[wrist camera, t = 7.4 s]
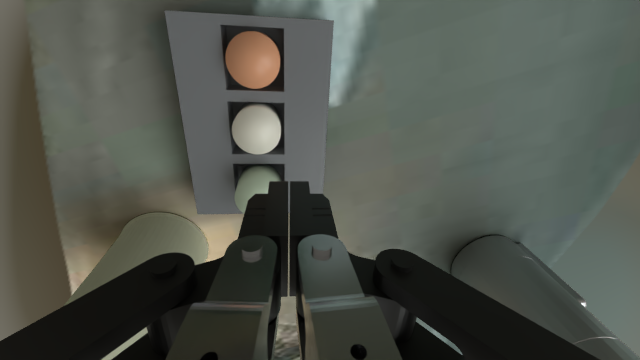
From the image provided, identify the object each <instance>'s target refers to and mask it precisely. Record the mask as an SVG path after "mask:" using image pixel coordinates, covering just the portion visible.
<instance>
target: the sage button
mask: <svg viewBox="0 0 640 360" xmlns="http://www.w3.org/2000/svg"><path fill="white" fill-rule="evenodd" d="M270 181H281V177H280V175H279V173H278V172H277V171H276V170H275V169H274V168H273V167H271V166H269V165H266V164H253V165H251V166H249V167H247V168H246V169H244V170H243V172H242V173H241V175H240V178H239V181H238V185H237V188H236V192H235V203H236V205H237V207H238V209H239V210H240V211H241V212H242V213H244V214H245V210H246V206H247V202H248V200H249V199H250V198H251V197H252V196H253V195H254V194H268V188H269V182H270Z"/></svg>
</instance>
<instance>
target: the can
mask: <svg viewBox="0 0 640 360" xmlns="http://www.w3.org/2000/svg"><path fill="white" fill-rule="evenodd" d="M173 252H178V253H184V254H187V255H189V256H190V257H191V258H192V259H193V260H194V263H195V265H197V264H201V263H205V261H206V259H207V256H208V243H207V240H206V237H205V235H204V234H203V232H202V231H201V230H200V229H199V228H198V227H197V226H196V225H195V224H194V223H192V222H191V221H189V220H187V219H185V218H183V217H181V216H178V215H175V214H171V213H164V212H153V213H147V214H143V215H140V216H138V217H136V218H134V219H132V220H131V221H130V222H128V223H127V224H126V226H125V227H124V228H123V230H122V232H121V234H120V236H119V237H118V238H117V240H116V241H115V242H114V244H113V245H112V246H111V247H110V249H109V250H108V251H107V253H106V254H105V255H104V257H103V258H102V259H101V260H100V262H99V263H98V264H97V265H96V267H95V268H94V269H93V270H92V272H91V273H90V274H89V275H88V277H87V278H86V279H85V280H84V281H83V283H82V284H81V285H80V286H79V288H78V289H77V290H76V291H75V293H74V294H73V295H72V296H71V297H70V299H69V300H68V301H67V302H66V303H65V305H67V304H69V303H71V302H72V301H74V300H76V299H78V298H80V297H81V296H83V295H85V294H87V293H89V292H91V291H92V290H94V289H96V288H98V287H100V286H101V285H103V284H105V283H107V282H109V281H111V280H112V279H114V278H116V277H118V276H120V275H121V274H123V273H125V272H127V271H129V270H131V269H132V268H134V267H136V266H138V265H140V264H141V263H143V262H145V261H147V260H149V259H151V258H153V257H155V256H158V255H161V254H165V253H173ZM65 305H64V306H65ZM146 333H148V331H147V328H144V329H143V330H141V331H140V332H139V333H137V334H136V335H135V336H133V337H132V338H130V339H129V340H128V341H126V342H125V343H123V344H122V345H121V346H119V347H118V348H117V349H115V350H114V351H112V352H111V353H110V354H108V355H107V356H106V357H104V358H103V359H101V360H111V359H113V358H114V357H115V356H117V355H118V354H119V353H121V352H122V351H123V350H125V349H126V348H128V347H129V346H130V345H132V344H133V343H134V342H136V341H137V340H138V339H140V338H141V337H142V336H144V335H145V334H146Z"/></svg>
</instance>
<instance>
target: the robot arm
mask: <svg viewBox="0 0 640 360" xmlns="http://www.w3.org/2000/svg"><path fill="white" fill-rule="evenodd" d="M287 291H288V181H270V182H269V188H268V194H254V195H253V196H252V197H251V198H250V199H249V200H248V202H247V206H246V210H245V214H244V218H243V221H242V225H241V229H240V233H239V237H238V239H237V240H235V241H234V242H232V243H231V244H230V245H229V246H228V248H227V250H226V252H225V255H224V256H223V257H221V258H219V259H216V260H213V261H210V262H206V263H201V264H197V265H195V263H194V260H193V259H192V258H191V257H190V256H189V255H187V254H184V253H178V252H173V253H165V254H161V255H158V256H155V257H153V258H151V259H149V260H147V261H145V262H143V263H141V264H140V265H138V266H136V267H134V268H132V269H131V270H129V271H127V272H125V273H123V274H121V275H120V276H118V277H116V278H114V279H112V280H111V281H109V282H107V283H105V284H103V285H101V286H100V287H98V288H96V289H94V290H92V291H91V292H89V293H87V294H85V295H83V296H81V297H80V298H78V299H76V300H74V301H72V302H71V303H69V304H67V305H65V306H63V307H61V308H60V309H58V310H56V311H54V312H52V313H51V314H49V315H47V316H45V317H43V318H41V319H40V320H38V321H36V322H35V323H32V324H31V325H29V326H27V327H25V328H23V329H21V330H20V331H18V332H16V333H14V334H12V335H11V336H9V337H7V338H5V339H3V340H2V341H0V360H101V359H103V358H104V357H106V356H107V355H108V354H110V353H111V352H112V351H114V350H115V349H117V348H118V347H119V346H121V345H122V344H123V343H125V342H126V341H128V340H129V339H130V338H132V337H133V336H135V335H136V334H137V333H139V332H140V331H141V330H143V329H144V328H147V331H148V333H146V334H145V335H144V336H142V337H141V338H140V339H138V340H137V341H136V342H134V343H133V344H132V345H130V346H129V347H128V348H126V349H125V350H123V351H122V352H121V353H119V354H118V355H117V356H115V357H114V358H113V359H111V360H273V358H274V350H275V343H276V335H277V327H278V313H279V311H280V306H281V297H286V296H287ZM290 296H296V323H297V333H298V342H299V351H300V360H640V357H639V356H638V355H636V354H635V353H634V352H633V351H632V350H631V349H630V348H629V347H628V346H626V345H625V343H623V342H622V341H621V340H620V339H619V338H618V337H617V336H616V335H614V334H613V333H612V332H611V331H610V330H609V329H608V328H607V327H606V326H605V325H604V324H602V323H601V322H600V321H599V320H598V319H597V318H596V317H595V316H594V315H593V314H592V313H590V312H589V311H588V310H587V309H586V308H585V307H586V301H585V300H584V299H583V298H582V297H581V296H580V295H579V294H578V293H577V292H576V291H575V290H573V289H572V288H571V287H570V286H569V285H568V284H567V283H566V282H564V281H563V280H562V279H561V278H560V277H559V276H558V275H557V274H556V273H554V272H553V271H552V270H551V269H550V268H549V267H548V266H547V265H545V264H544V263H543V262H542V261H541V260H540V259H539V258H538V257H536V256H535V255H534V254H533V253H532V252H531V251H530V250H529V249H528V248H526V247H525V246H524V245H523V244H517V243H514V242H513V241H512V240H511V239H509V238H507V237H505V236H499V235H496V236H487V237H483V238H480V239H478V240H476V241H474V242H472V243H470V244H469V245H467V246H466V247H465V248H463V249H462V250H461V251H460V252H459V253H458V255H457V256H456V258H455V259H454V261H453V264H452V268H451V275H450V274H448V273H447V272H445V271H443V270H441V269H440V268H438V267H436V266H434V265H433V264H431V263H429V262H427V261H426V260H424V259H422V258H420V257H418V256H417V255H415V254H413V253H411V252H408V251H405V250H401V249H388V250H384V251H382V252H380V253H379V254H378V255H377V257H376V260H371V259H366V258H362V257H358V256H355V255H353V254H351V253H349V252H348V251H347V249H346V247H345V245H344V244H343V242H341V241H340V240H339V239H338V236H337V231H336V227H335V223H334V219H333V216H332V211H331V206H330V202H329V200H328V199H327V198H326V197H325V196H324V195H323V194H310V188H309V181H290ZM417 317H418V318H419V319H421V320H422V321H423V322H425V323H426V324H427V325H429V326H430V327H432V328H433V329H434V330H436V331H437V332H439V333H440V334H441V335H443V336H444V337H446V338H447V339H448V340H450V341H451V342H453V343H454V344H455V345H456V346H457V347H458V348H459V349H460V351H461V352H462V354H463V355H461V354H460V353H458V352H457V351H455V350H454V349H453V348H451V347H450V346H449V345H447V344H446V343H444V342H443V341H442V340H440V339H439V338H438V337H436V336H435V335H433V334H432V333H431V332H429V331H428V330H427V329H425V328H424V327H423V326H421V325H420V324H418V323H417V322H416V318H417Z"/></svg>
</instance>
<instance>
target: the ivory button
mask: <svg viewBox="0 0 640 360" xmlns="http://www.w3.org/2000/svg"><path fill="white" fill-rule="evenodd" d="M232 135H233V138H234V141H235V142H236V144H237V145H238V146H239V147H240V148H241V149H242V150H244V151H246V152H248V153H251V154H265V153H268V152H270V151H271V150H273V149H274V148H275V147H276V146H277V144H278V142H279V140H280V137H281V118H280V115H279V113H278V111H277V109H276V108H275V107H274V106H273V105H271V104H270V103H268V102H248V103H246V104H245V105H243V106H242V107H241V109H240V110H239V112H238V114H237V116H236V118H235V119H234V122H233V125H232Z"/></svg>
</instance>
